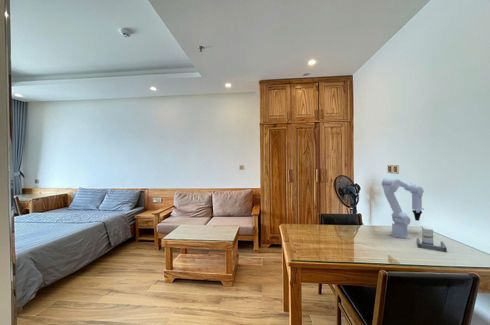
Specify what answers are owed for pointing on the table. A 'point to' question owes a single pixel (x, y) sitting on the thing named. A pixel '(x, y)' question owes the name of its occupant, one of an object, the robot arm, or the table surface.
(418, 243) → the bay
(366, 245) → the table surface
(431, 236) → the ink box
